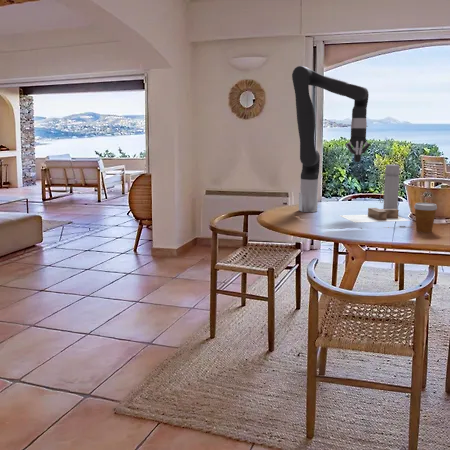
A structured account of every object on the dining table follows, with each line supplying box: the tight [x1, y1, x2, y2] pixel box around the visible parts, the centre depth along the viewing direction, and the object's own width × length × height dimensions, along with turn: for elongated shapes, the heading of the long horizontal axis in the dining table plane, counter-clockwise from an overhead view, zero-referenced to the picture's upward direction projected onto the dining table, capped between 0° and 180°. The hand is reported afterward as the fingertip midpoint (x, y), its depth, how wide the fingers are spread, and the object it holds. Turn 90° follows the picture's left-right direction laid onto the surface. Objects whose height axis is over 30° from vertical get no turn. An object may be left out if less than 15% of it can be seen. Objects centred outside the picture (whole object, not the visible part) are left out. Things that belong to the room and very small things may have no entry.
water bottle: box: [379, 164, 401, 210], centre depth 287 cm, size 9×8×25 cm
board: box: [338, 214, 411, 224], centre depth 266 cm, size 28×20×1 cm
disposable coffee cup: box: [413, 202, 438, 234], centre depth 239 cm, size 10×10×12 cm
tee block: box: [367, 207, 400, 220], centre depth 267 cm, size 12×12×4 cm
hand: (357, 162), depth 278 cm, fingers closed
